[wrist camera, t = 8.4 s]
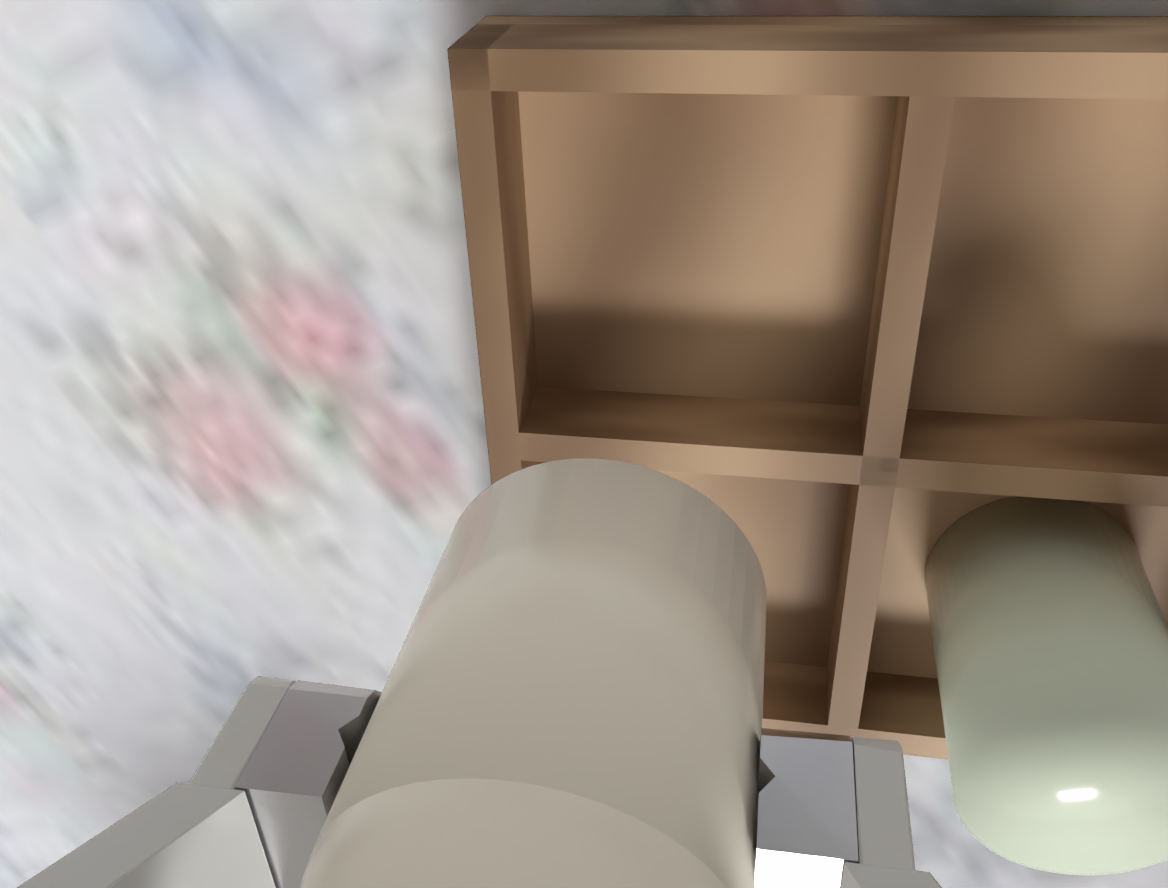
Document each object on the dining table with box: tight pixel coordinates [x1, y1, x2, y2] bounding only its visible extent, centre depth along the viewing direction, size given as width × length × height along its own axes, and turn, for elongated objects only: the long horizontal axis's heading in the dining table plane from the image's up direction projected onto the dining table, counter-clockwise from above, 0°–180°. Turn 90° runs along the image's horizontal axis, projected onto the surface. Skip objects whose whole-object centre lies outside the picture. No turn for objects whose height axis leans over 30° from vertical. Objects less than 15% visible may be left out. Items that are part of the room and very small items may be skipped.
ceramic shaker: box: [300, 459, 767, 888], centre depth 11 cm, size 4×4×7 cm
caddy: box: [448, 16, 1168, 760], centre depth 25 cm, size 18×18×3 cm
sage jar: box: [925, 496, 1168, 875], centre depth 25 cm, size 5×5×7 cm
